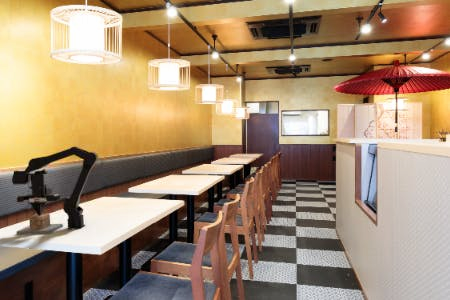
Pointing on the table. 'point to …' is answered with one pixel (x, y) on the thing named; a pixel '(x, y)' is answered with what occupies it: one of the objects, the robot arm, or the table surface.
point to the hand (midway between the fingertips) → (39, 215)
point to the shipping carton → (39, 221)
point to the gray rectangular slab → (40, 231)
